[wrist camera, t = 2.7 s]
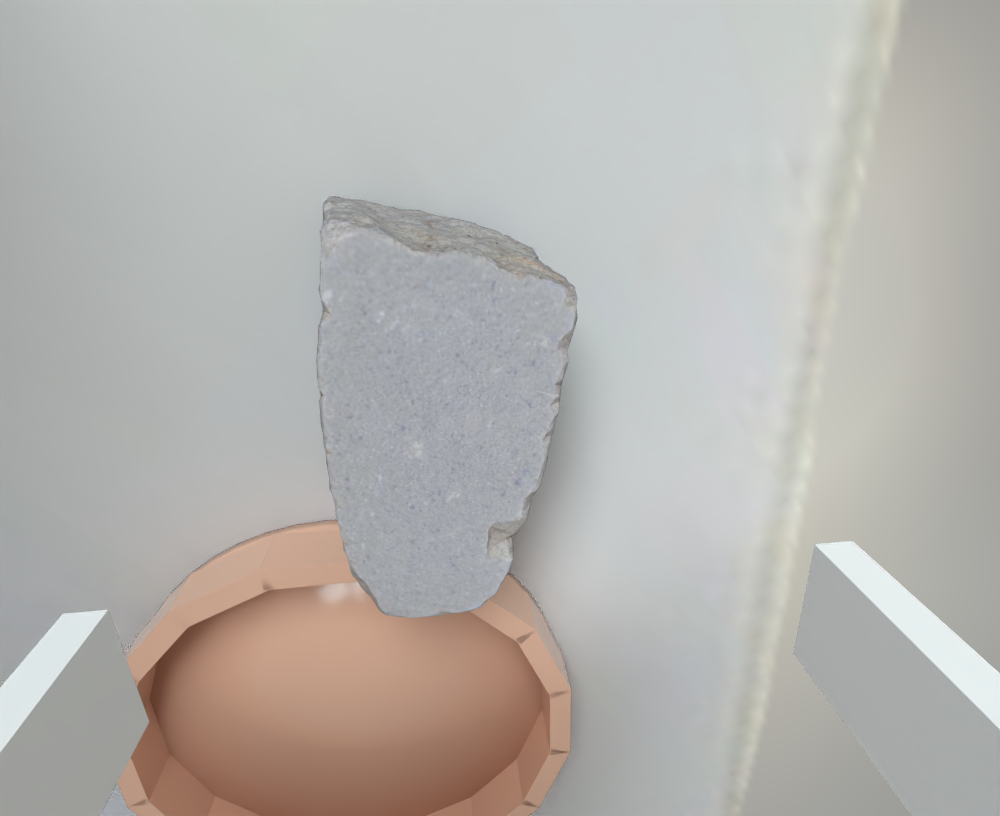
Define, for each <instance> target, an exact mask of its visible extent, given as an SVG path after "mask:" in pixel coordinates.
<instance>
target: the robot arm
mask: <svg viewBox="0 0 1000 816" xmlns="http://www.w3.org/2000/svg"><path fill="white" fill-rule="evenodd" d="M794 655H795V656H796V658H797V659H798V661H799V662H800V663H801V664H802V666H803V667H804V669H805V670H806V671H807V673H808V674H809V675H810V677H811V678H812V679H813V681H814V682H815V684H816V685H817V687H818V688H819V689H820V691H821V692H822V693H823V695H824V696H825V697H826V699H827V700H828V701H829V703H830V704H831V706H832V707H833V708H834V710H835V711H836V713H837V714H838V715H839V717H840V718H841V719H842V721H843V722H844V723H845V725H846V726H847V728H848V729H849V730H850V732H851V733H852V734H853V735H854V737H855V738H856V740H857V741H858V743H859V744H860V745H861V747H862V748H863V749H864V751H865V752H866V754H867V755H868V756H869V758H870V759H871V760H872V762H873V763H874V764H875V766H876V767H877V769H878V770H879V771H880V773H881V774H882V775H883V777H884V778H885V780H886V781H887V782H888V784H889V785H890V786H891V788H892V789H893V790H894V792H895V793H896V795H897V796H898V797H899V799H900V800H901V801H902V803H903V804H904V806H905V807H906V808H907V810H908V811H909V812H910V814H911V815H912V816H1000V673H999V672H998V671H996V670H995V669H994V668H993V667H992V666H991V665H990V664H989V663H987V662H986V661H985V660H984V659H983V658H982V657H981V656H980V655H978V653H976V652H975V651H974V650H973V649H972V648H971V647H970V646H969V645H968V644H966V643H965V642H964V641H963V640H962V639H961V638H960V637H959V636H957V635H956V634H955V633H954V632H953V631H952V630H951V629H950V628H949V627H947V626H946V625H945V624H944V623H943V622H942V621H941V620H940V619H939V618H937V617H936V616H935V615H934V614H933V613H932V612H931V611H930V610H929V609H927V608H926V607H925V606H924V605H923V604H922V603H921V602H920V601H919V600H917V599H916V598H915V597H914V596H913V595H912V594H911V593H910V592H908V591H907V590H906V589H905V588H904V587H903V586H902V585H901V584H900V583H899V582H897V581H896V580H895V579H894V578H893V577H892V576H891V575H890V574H889V573H887V572H886V571H885V570H884V569H883V568H882V567H881V566H879V564H877V563H876V562H875V561H874V560H873V559H872V558H871V557H870V556H869V555H867V554H866V553H865V552H864V551H863V550H862V549H861V548H860V547H858V546H857V545H856V544H855V543H854V542H853V541H847V542H836V543H825V544H815V546H814V551H813V556H812V562H811V566H810V571H809V576H808V582H807V587H806V592H805V597H804V602H803V607H802V612H801V617H800V622H799V627H798V632H797V637H796V643H795V647H794ZM148 723H149V719H148V717H147V714H146V711H145V709H144V706H143V703H142V700H141V698H140V695H139V692H138V689H137V687H136V684H135V681H134V679H133V676H132V673H131V670H130V668H129V665H128V662H127V660H126V657H125V654H124V651H123V649H122V646H121V643H120V640H119V638H118V635H117V632H116V630H115V627H114V624H113V621H112V619H111V616H110V613H109V611H108V610H99V611H88V612H77V613H66V614H62V615H61V617H60V618H59V619H58V620H57V621H56V623H55V624H54V625H53V626H52V627H51V628H50V630H49V631H48V632H47V633H46V634H45V635H44V637H43V638H42V639H41V640H40V641H39V643H38V644H37V645H36V646H35V647H34V648H33V650H32V651H31V652H30V653H29V654H28V655H27V657H26V658H25V659H24V660H23V661H22V662H21V664H20V665H19V666H18V667H17V668H16V670H15V671H14V672H13V673H12V674H11V675H10V677H9V678H8V679H7V680H6V681H5V682H4V684H3V685H2V686H1V687H0V816H100V814H101V812H102V811H103V809H104V807H105V805H106V803H107V801H108V799H109V797H110V795H111V793H112V792H113V790H114V788H115V786H116V784H117V782H118V780H119V778H120V776H121V775H122V773H123V771H124V769H125V767H126V765H127V763H128V761H129V759H130V757H131V756H132V754H133V752H134V750H135V748H136V746H137V744H138V742H139V740H140V739H141V737H142V735H143V733H144V731H145V729H146V727H147V725H148Z"/></svg>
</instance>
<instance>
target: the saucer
mask: <svg viewBox="0 0 1000 816" xmlns="http://www.w3.org/2000/svg"><path fill="white" fill-rule="evenodd" d="M125 657H126V660H127V662H128V665H129V668H130V670H131V673H132V676H133V679H134V681H135V684H136V687H137V689H138V692H139V695H140V698H141V700H142V703H143V706H144V709H145V711H146V714H147V717H148V719H149V723H148V725H147V727H146V729H145V731H144V733H143V735H142V737H141V739H140V740H139V742H138V744H137V746H136V748H135V750H134V752H133V754H132V756H131V757H130V759H129V761H128V763H127V765H126V767H125V769H124V771H123V773H122V775H121V776H120V778H119V780H118V782H117V784H118V786H119V788H120V791H121V793H122V795H123V798H124V800H125V802H126V805H127V807H128V808H129V809H131V810H132V811H133V812H134V813H135V814H137V815H138V816H529V815H531V814H532V813H533V812H534V811H536V810H537V809H538V808H539V807H540V805H541V803H542V802H543V800H544V798H545V796H546V795H547V793H548V791H549V789H550V787H551V786H552V784H553V782H554V780H555V779H556V777H557V775H558V773H559V771H560V770H561V768H562V766H563V764H564V762H565V761H566V759H567V757H568V755H569V754H570V729H571V688H570V685H569V681H568V677H567V673H566V669H565V665H564V661H563V658H562V654H561V651H560V649H559V647H558V645H557V644H556V642H555V640H554V638H553V637H552V633H551V630H550V628H549V626H548V623H547V621H546V619H545V617H544V615H543V613H542V611H541V609H540V608H539V606H538V605H537V603H536V602H535V600H534V599H533V598H532V596H531V595H530V593H529V592H528V591H527V590H526V589H525V588H524V587H523V586H522V585H521V584H520V582H519V581H518V580H517V579H516V578H515V577H514V576H513V575H512V574H510V573H509V572H508V574H507V576H506V577H505V579H504V581H503V583H502V584H501V586H500V588H499V590H498V591H497V592H496V593H495V595H493V596H492V597H490V598H489V599H488V600H487V601H486V602H485V603H484V605H483V606H482V607H480V608H477V609H475V610H471V611H466V612H461V613H455V614H444V615H441V616H433V617H418V618H404V617H395V616H388V615H385V614H383V613H382V612H380V611H379V610H378V608H377V606H376V605H375V603H374V601H373V600H372V598H371V597H370V595H368V594H367V593H366V592H365V591H364V590H363V589H362V588H361V587H360V585H359V583H358V581H357V580H356V579H355V578H354V577H353V576H352V574H351V571H350V567H349V563H348V558H347V556H346V554H345V552H344V550H343V541H342V538H341V534H340V529H339V524H338V521H337V520H325V521H318V522H312V523H305V524H298V525H293V526H289V527H285V528H282V529H278V530H274V531H270V532H266V533H264V534H261V535H259V536H256V537H253V538H251V539H248V540H246V541H243V542H241V543H238V544H236V545H234V546H233V547H231V548H229V549H227V550H225V551H223V552H222V553H220V554H218V555H216V556H214V557H213V558H211V559H210V560H208V561H207V562H206V563H204V564H203V565H202V566H200V567H199V568H197V569H196V570H195V571H193V572H192V573H191V574H190V575H189V576H188V577H187V578H186V579H185V580H184V581H183V582H181V583H180V584H179V585H178V586H177V587H176V588H175V589H174V590H173V591H172V593H171V594H170V595H169V597H168V598H167V599H166V601H165V602H164V603H163V605H162V606H161V607H160V609H159V610H158V611H157V613H156V614H155V615H154V617H153V618H152V619H151V620H150V621H149V622H148V623H147V625H146V626H145V627H144V628H143V629H142V630H141V631H140V633H139V634H138V636H137V637H136V639H135V640H134V642H133V644H132V645H131V647H130V648H129V650H128V652H127V653H126V655H125Z"/></svg>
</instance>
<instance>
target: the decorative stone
mask: <svg viewBox="0 0 1000 816" xmlns="http://www.w3.org/2000/svg"><path fill="white" fill-rule="evenodd" d="M320 235H321V259H320V285H319V292H320V297H321V301H322V306H323V315H322V318H321V321H320V324H319V330H318V348H317V359H316V364H317V381H318V388H319V390H320V394H321V397H320V400H319V403H320V416H321V427H322V432H323V439H324V446H325V452H326V462H327V468H328V474H329V484H330V490H331V493H332V495H333V499H334V502H335V506H336V517H337V521H338V524H339V529H340V534H341V538H342V541H343V550H344V552H345V554H346V556H347V558H348V563H349V567H350V571H351V574H352V576H353V577H354V578H355V579H356V580H357V581H358V583H359V585H360V587H361V588H362V589H363V590H364V591H365V592H366V593H367V594H368V595H370V597H371V598H372V600H373V601H374V603H375V605H376V606H377V608H378V610H379V611H380V612H382V613H383V614H385V615H388V616H395V617H404V618H418V617H433V616H441V615H444V614H455V613H461V612H466V611H471V610H475V609H477V608H480V607H482V606H483V605H484V603H485V602H486V601H487V600H488V599H489V598H490V597H492V596H493V595H495V593H496V592H497V591H498V590H499V588H500V586H501V584H502V583H503V581H504V579H505V577H506V576H507V574H508V572H509V570H510V566H511V564H512V562H513V559H514V555H513V545H512V536H513V535H515V534H517V532H518V531H519V529H520V527H521V526H522V525H523V523H524V522H525V521H526V519H527V517H528V512H529V507H530V502H531V499H532V496H533V494H534V493H535V492H536V491H537V489H538V487H539V486H540V484H541V481H542V477H543V473H544V469H545V465H546V462H547V458H548V449H549V442H550V439H551V436H552V432H553V429H554V425H555V419H556V417H557V415H558V412H559V403H560V392H561V384H562V379H563V377H564V374H565V371H566V368H567V364H568V354H567V349H568V346H569V343H570V341H571V338H572V335H573V332H574V328H575V325H576V321H577V309H576V304H577V295H576V291H575V287H574V286H573V285H572V284H570V283H569V282H568V281H567V279H566V278H565V277H564V276H562V275H560V274H558V273H556V272H554V271H553V270H552V269H551V268H550V267H548V266H546V265H544V264H543V263H542V262H541V261H539V259H538V256H537V255H536V253H535V251H534V249H533V248H531V247H529V246H526V245H524V244H522V243H520V242H518V241H516V240H514V239H512V238H511V237H510V236H507V235H502V234H501V233H499V232H498V231H495V230H492V229H489V228H485V227H481V226H479V225H477V224H475V223H472V222H468V221H464V220H460V219H454V218H447V217H440V216H436V215H432V214H428V213H426V212H423V211H420V210H402V209H397V208H395V207H386V206H382V205H379V204H377V203H372V202H368V201H363V200H350V199H344V198H340V197H336V196H333V197H328V198H327V200H326V201H325V202H324V206H323V224H322V227H321V230H320Z"/></svg>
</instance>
